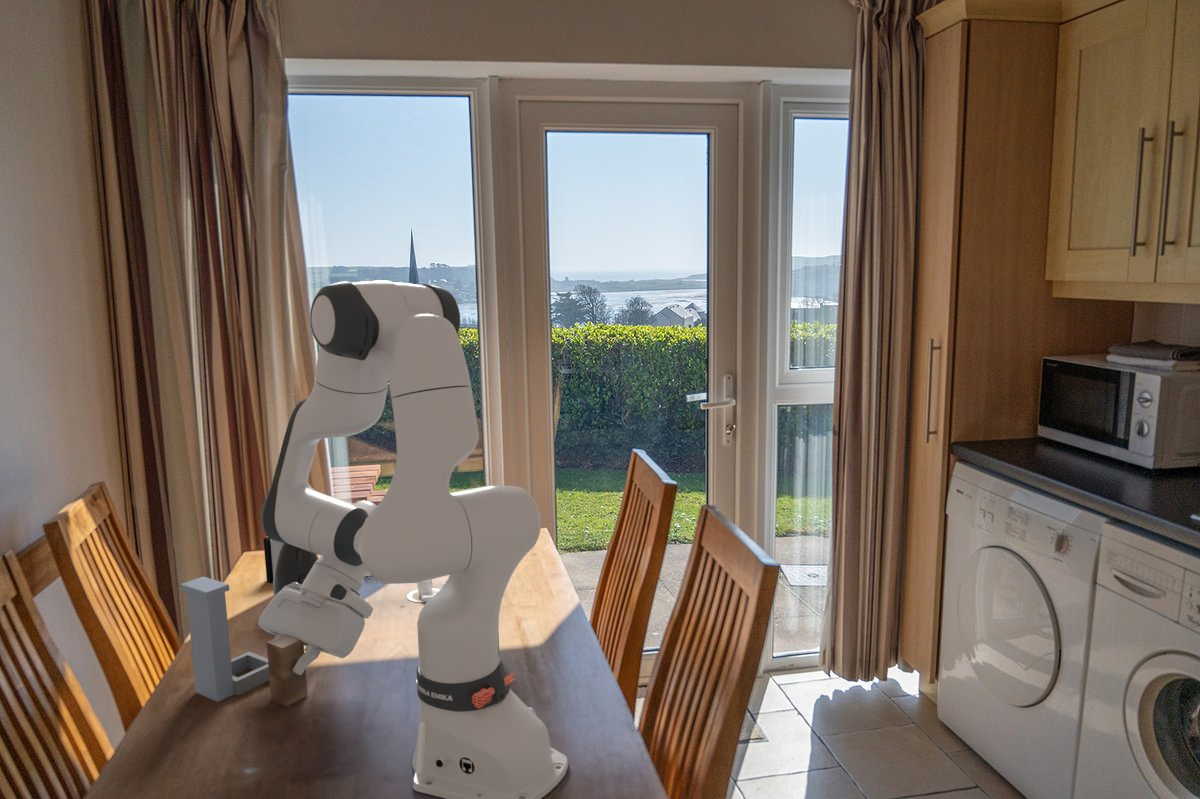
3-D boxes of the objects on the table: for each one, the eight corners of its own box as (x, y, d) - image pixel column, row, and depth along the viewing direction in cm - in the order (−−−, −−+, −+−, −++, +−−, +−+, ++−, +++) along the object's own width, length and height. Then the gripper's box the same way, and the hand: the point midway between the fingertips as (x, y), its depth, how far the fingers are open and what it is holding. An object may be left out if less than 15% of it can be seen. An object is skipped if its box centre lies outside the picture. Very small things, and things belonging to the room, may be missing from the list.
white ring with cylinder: (439, 605, 179) (438, 587, 179) (401, 606, 180) (400, 587, 179) (448, 590, 188) (447, 572, 187) (411, 590, 188) (410, 572, 188)
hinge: (316, 563, 205) (313, 522, 203) (330, 568, 202) (327, 526, 200) (263, 581, 194) (260, 538, 192) (277, 586, 191) (274, 542, 189)
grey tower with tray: (279, 675, 149) (270, 570, 146) (218, 704, 140) (208, 593, 137) (250, 664, 153) (241, 562, 150) (189, 692, 144) (178, 583, 141)
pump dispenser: (310, 618, 173) (305, 545, 171) (264, 614, 175) (258, 542, 173) (336, 598, 183) (332, 529, 180) (292, 595, 185) (287, 526, 183)
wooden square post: (307, 696, 142) (303, 638, 140) (287, 706, 139) (282, 648, 137) (291, 689, 144) (287, 633, 143) (271, 700, 141) (266, 642, 139)
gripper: (277, 571, 150) (231, 646, 144) (358, 595, 139) (312, 676, 132) (300, 588, 154) (256, 661, 148) (380, 611, 143) (337, 691, 137)
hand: (283, 668), depth 140 cm, fingers closed on wooden square post, 4 cm apart
